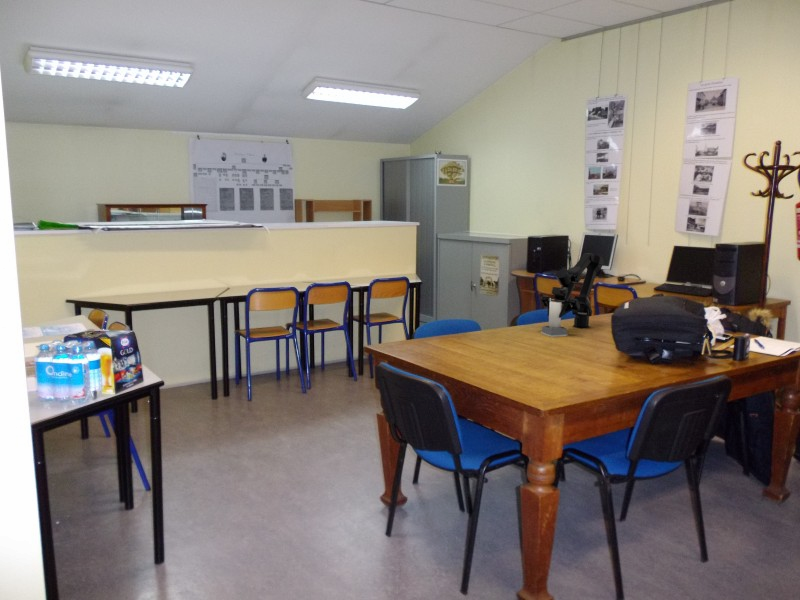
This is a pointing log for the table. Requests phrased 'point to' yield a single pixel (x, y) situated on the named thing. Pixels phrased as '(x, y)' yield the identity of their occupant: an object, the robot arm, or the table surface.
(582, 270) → the robot arm
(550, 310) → the paper towel roll
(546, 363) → the table surface
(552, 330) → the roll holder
